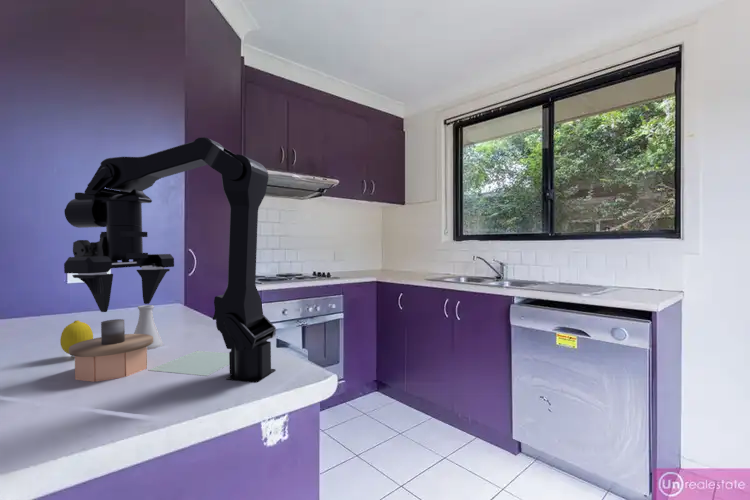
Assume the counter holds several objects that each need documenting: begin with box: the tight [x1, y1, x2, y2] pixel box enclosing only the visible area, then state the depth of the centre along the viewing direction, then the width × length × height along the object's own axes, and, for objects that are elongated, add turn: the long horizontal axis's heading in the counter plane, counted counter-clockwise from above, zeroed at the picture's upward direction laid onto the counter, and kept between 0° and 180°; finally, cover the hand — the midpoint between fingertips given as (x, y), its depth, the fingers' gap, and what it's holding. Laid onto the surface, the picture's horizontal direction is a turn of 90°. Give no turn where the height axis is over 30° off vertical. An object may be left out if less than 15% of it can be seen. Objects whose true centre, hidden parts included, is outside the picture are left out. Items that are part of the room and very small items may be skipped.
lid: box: [68, 318, 153, 357], centre depth 70 cm, size 13×13×5 cm
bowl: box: [74, 347, 148, 382], centre depth 70 cm, size 11×11×5 cm
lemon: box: [59, 320, 94, 355], centre depth 80 cm, size 6×6×8 cm
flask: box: [133, 304, 165, 351], centre depth 86 cm, size 7×7×10 cm
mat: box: [148, 350, 229, 377], centre depth 74 cm, size 13×13×1 cm
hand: (126, 307), depth 71 cm, fingers open, 9 cm apart
